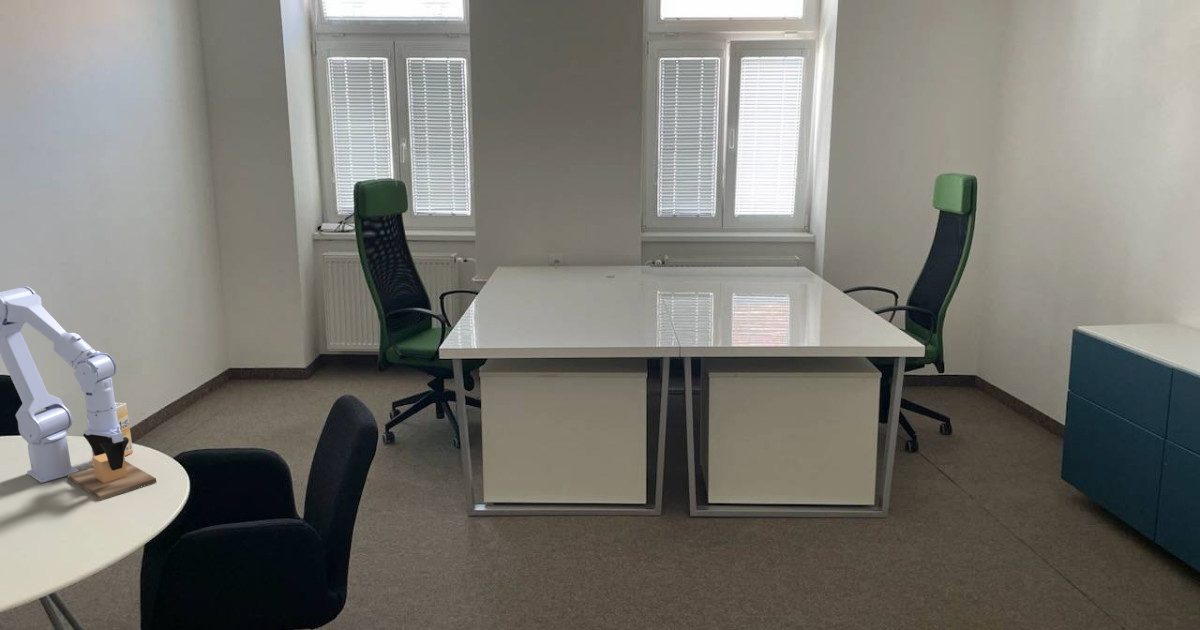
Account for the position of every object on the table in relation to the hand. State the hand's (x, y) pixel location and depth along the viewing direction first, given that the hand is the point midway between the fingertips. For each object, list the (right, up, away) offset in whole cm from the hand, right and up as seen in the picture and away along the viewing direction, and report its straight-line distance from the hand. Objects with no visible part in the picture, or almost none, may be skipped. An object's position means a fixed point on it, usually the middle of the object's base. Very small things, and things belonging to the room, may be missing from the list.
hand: (109, 464), depth 205 cm
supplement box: (-7, -1, +14) cm, 16 cm away
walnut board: (0, -4, +1) cm, 4 cm away
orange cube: (0, -3, +1) cm, 3 cm away
